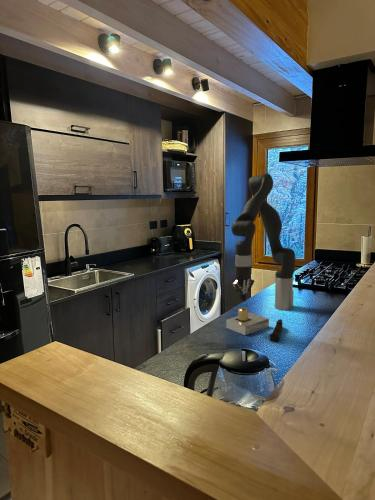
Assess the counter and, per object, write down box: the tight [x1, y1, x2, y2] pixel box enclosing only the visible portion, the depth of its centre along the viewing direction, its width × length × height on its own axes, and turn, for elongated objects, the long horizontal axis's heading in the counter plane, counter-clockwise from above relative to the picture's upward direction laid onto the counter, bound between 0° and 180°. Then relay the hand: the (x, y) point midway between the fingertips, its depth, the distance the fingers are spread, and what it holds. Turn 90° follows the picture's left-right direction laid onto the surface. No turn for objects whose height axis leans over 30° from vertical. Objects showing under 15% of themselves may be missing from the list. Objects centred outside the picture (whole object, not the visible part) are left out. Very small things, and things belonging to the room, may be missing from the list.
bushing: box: [237, 307, 249, 323], centre depth 163 cm, size 5×5×9 cm
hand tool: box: [269, 318, 284, 343], centre depth 154 cm, size 19×4×5 cm, turn 155°
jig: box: [225, 312, 270, 336], centre depth 164 cm, size 16×12×4 cm
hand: (243, 301), depth 162 cm, fingers closed
